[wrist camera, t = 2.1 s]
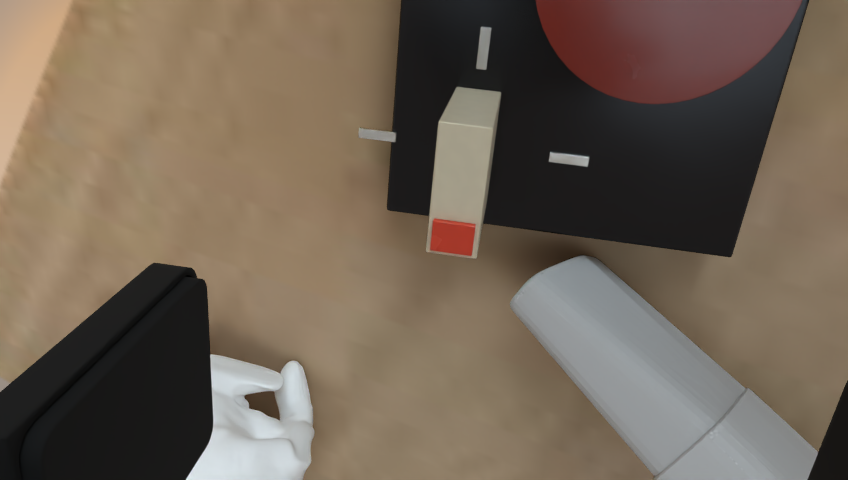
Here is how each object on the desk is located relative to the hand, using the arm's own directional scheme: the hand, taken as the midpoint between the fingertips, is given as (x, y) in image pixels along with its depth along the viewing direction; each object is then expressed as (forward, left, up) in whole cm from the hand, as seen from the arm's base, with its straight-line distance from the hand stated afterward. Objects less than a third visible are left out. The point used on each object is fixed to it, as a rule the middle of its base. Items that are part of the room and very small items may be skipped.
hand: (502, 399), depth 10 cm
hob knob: (+1, -2, -16) cm, 16 cm away
